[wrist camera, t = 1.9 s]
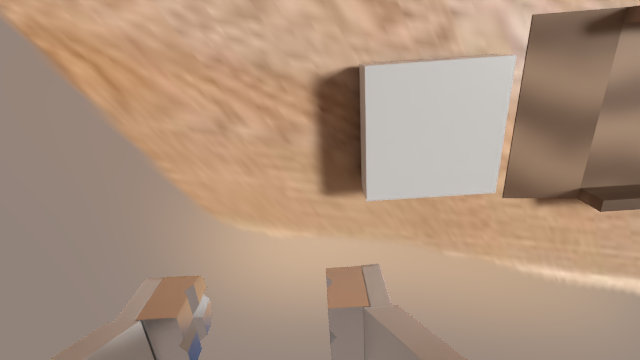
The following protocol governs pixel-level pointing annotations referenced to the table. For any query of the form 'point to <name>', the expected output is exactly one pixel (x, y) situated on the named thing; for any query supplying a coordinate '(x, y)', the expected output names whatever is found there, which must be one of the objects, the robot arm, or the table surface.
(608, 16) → the dock
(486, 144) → the grey square tile
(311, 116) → the table surface
